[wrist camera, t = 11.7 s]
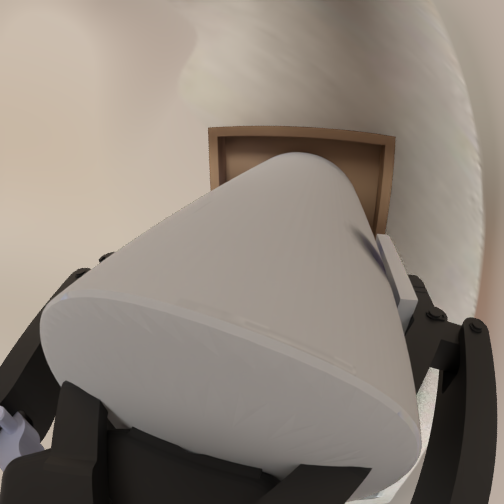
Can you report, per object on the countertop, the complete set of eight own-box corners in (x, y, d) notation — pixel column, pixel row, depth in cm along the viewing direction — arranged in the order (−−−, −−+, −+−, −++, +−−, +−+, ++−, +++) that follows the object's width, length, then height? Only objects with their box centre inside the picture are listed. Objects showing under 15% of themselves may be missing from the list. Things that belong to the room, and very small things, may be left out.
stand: (219, 127, 22) (208, 127, 20) (388, 135, 18) (395, 136, 16) (226, 271, 28) (217, 284, 26) (367, 288, 24) (369, 303, 22)
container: (366, 256, 22) (388, 509, 5) (258, 272, 26) (152, 478, 9) (345, 140, 19) (492, 242, 2) (226, 168, 22) (-4, 301, 5)
